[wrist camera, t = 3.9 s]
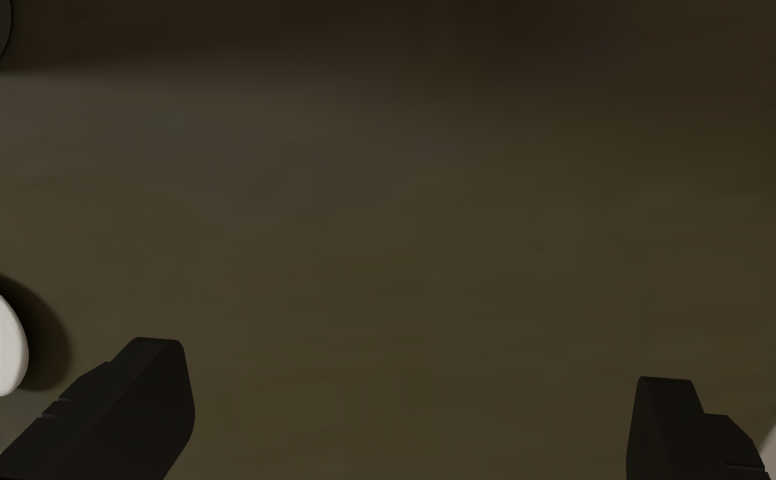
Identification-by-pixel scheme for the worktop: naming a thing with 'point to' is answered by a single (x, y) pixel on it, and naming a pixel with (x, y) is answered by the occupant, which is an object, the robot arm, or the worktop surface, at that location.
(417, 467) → the worktop surface
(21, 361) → the spoon
